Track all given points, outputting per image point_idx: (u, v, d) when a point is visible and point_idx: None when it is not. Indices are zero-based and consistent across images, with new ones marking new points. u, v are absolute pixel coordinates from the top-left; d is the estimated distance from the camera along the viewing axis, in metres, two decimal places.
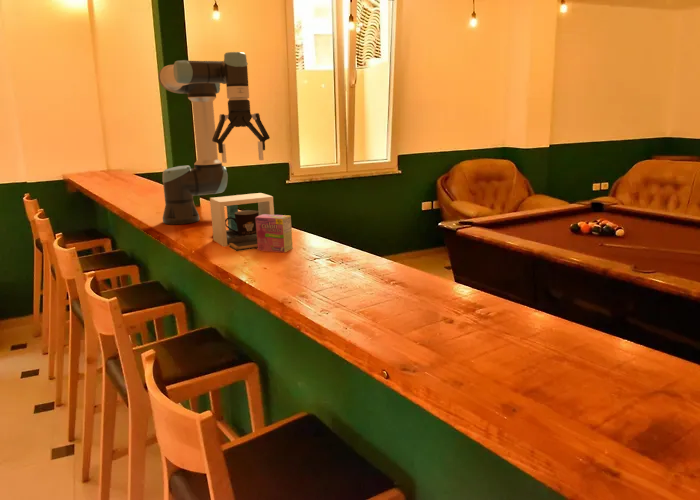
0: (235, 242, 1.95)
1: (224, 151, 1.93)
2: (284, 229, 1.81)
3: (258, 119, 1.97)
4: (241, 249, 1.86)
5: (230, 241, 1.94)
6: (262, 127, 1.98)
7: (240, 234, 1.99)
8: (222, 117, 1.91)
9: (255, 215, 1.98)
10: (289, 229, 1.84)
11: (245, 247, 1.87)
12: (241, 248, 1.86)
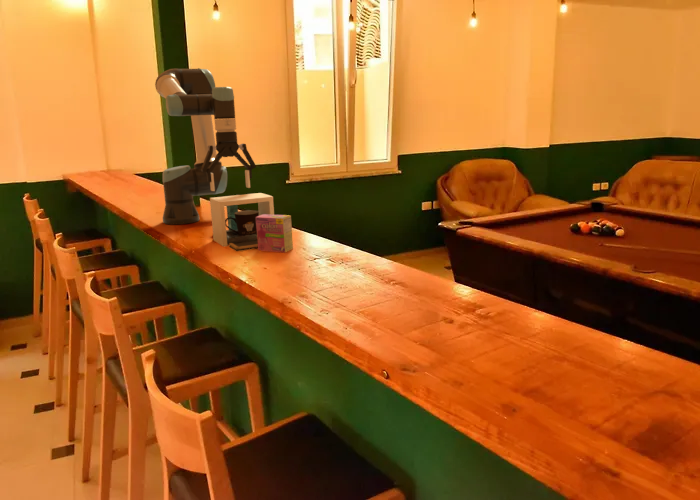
0: (235, 242, 1.95)
1: (212, 180, 2.03)
2: (284, 229, 1.81)
3: (245, 149, 2.07)
4: (241, 249, 1.86)
5: (230, 241, 1.94)
6: (249, 157, 2.08)
7: (240, 234, 1.99)
8: (210, 148, 2.01)
9: (255, 215, 1.98)
10: (289, 229, 1.84)
11: (245, 247, 1.87)
12: (241, 248, 1.86)
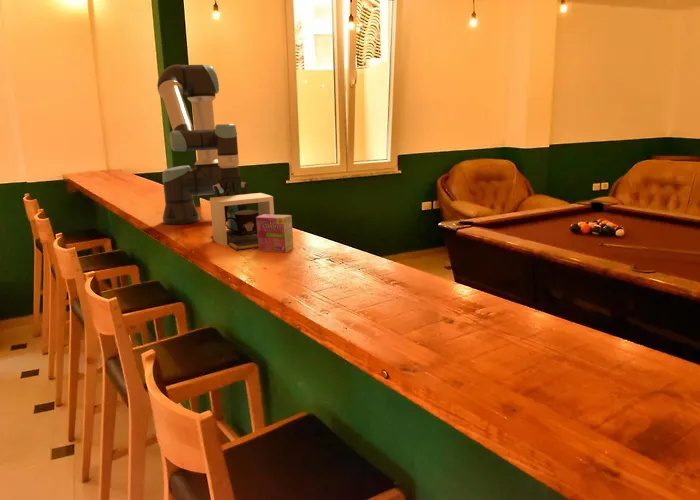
0: (235, 242, 1.95)
1: (229, 219, 2.09)
2: (285, 229, 1.82)
3: (245, 188, 2.10)
4: (241, 249, 1.86)
5: (230, 241, 1.94)
6: None
7: (240, 234, 1.99)
8: (215, 189, 2.05)
9: (255, 215, 1.98)
10: (289, 229, 1.84)
11: (245, 247, 1.87)
12: (241, 248, 1.86)
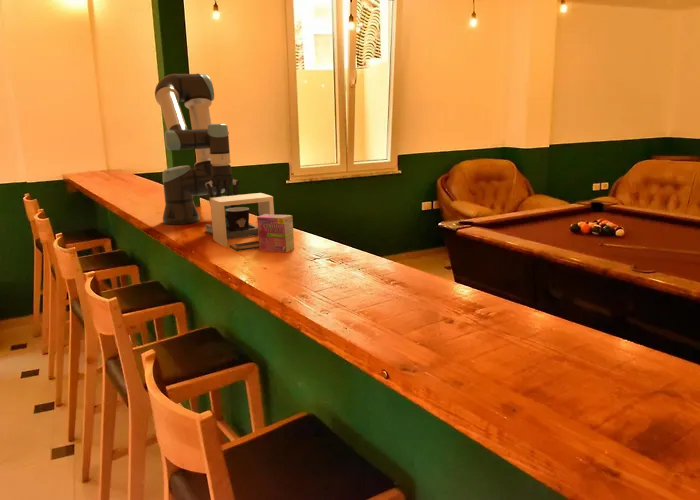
0: (227, 237, 2.03)
1: None
2: (286, 229, 1.82)
3: (236, 185, 2.19)
4: (241, 249, 1.86)
5: None
6: (236, 193, 2.19)
7: (232, 230, 2.06)
8: (208, 186, 2.13)
9: (247, 211, 2.06)
10: (290, 229, 1.84)
11: (245, 247, 1.87)
12: (241, 248, 1.86)
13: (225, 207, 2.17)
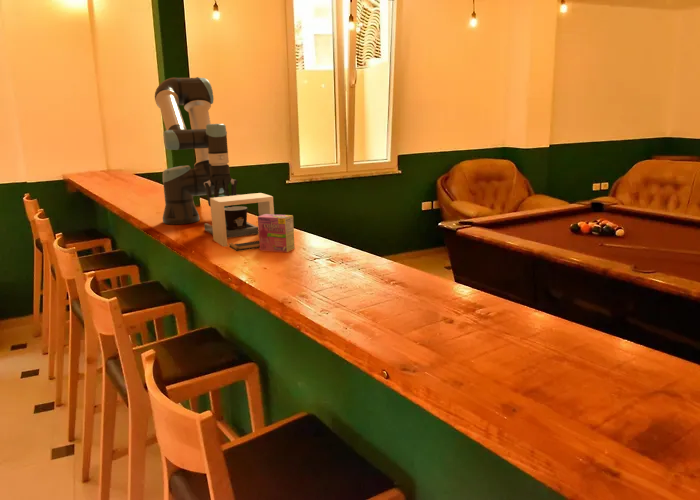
0: None
1: None
2: (286, 229, 1.82)
3: (234, 185, 2.21)
4: (241, 249, 1.86)
5: None
6: (234, 193, 2.21)
7: (230, 229, 2.08)
8: (206, 185, 2.15)
9: (245, 210, 2.08)
10: (291, 229, 1.85)
11: (245, 247, 1.87)
12: (241, 248, 1.86)
13: None
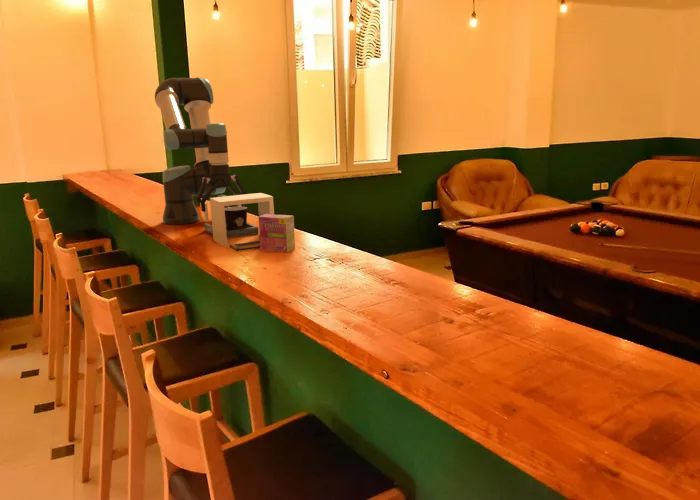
0: None
1: (206, 210, 2.17)
2: (287, 229, 1.82)
3: (237, 180, 2.21)
4: (241, 249, 1.86)
5: None
6: (240, 187, 2.22)
7: (230, 229, 2.08)
8: (204, 180, 2.15)
9: (245, 210, 2.08)
10: (291, 229, 1.85)
11: (245, 247, 1.87)
12: (241, 248, 1.86)
13: None
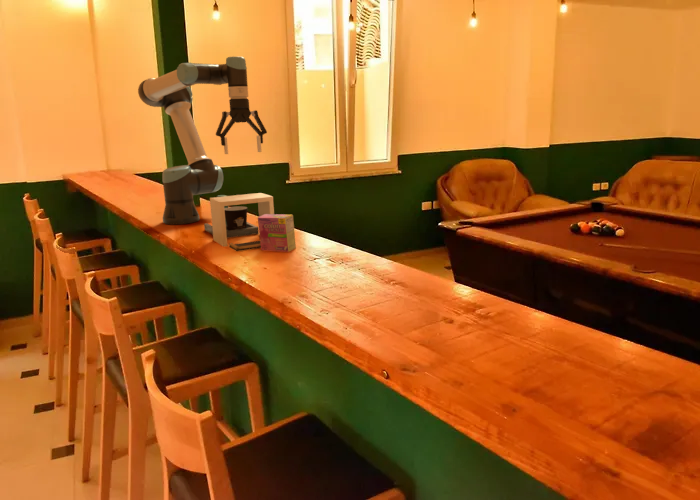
0: None
1: (226, 144, 2.19)
2: (287, 228, 1.82)
3: (256, 115, 2.22)
4: (241, 249, 1.86)
5: None
6: (260, 123, 2.24)
7: (230, 229, 2.08)
8: (224, 114, 2.17)
9: (245, 211, 2.08)
10: (291, 229, 1.85)
11: (245, 247, 1.87)
12: (241, 248, 1.86)
13: None
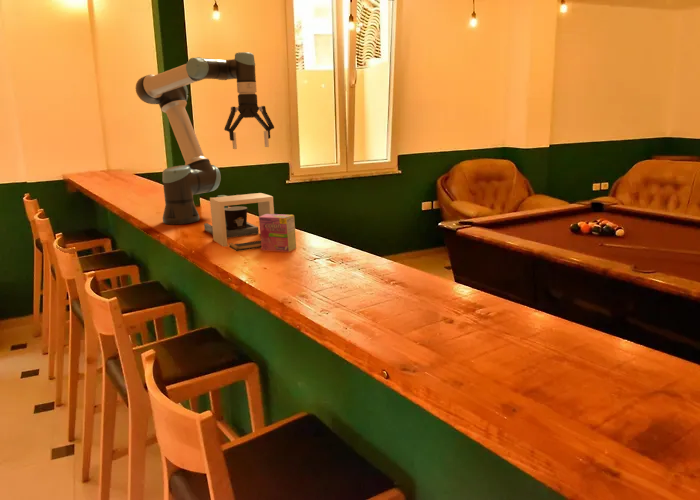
0: None
1: (235, 139, 2.22)
2: (288, 228, 1.82)
3: (264, 111, 2.25)
4: (241, 249, 1.86)
5: None
6: (268, 118, 2.27)
7: (230, 229, 2.08)
8: (233, 109, 2.19)
9: (245, 211, 2.08)
10: (292, 229, 1.85)
11: (245, 247, 1.87)
12: (241, 248, 1.86)
13: None
